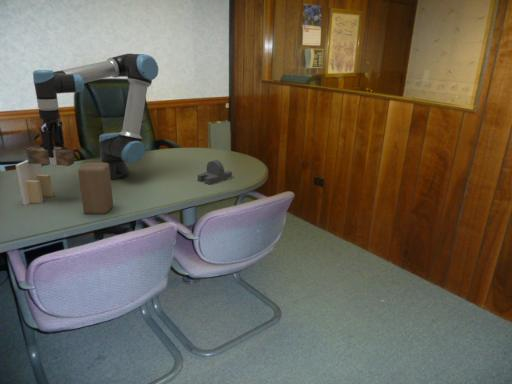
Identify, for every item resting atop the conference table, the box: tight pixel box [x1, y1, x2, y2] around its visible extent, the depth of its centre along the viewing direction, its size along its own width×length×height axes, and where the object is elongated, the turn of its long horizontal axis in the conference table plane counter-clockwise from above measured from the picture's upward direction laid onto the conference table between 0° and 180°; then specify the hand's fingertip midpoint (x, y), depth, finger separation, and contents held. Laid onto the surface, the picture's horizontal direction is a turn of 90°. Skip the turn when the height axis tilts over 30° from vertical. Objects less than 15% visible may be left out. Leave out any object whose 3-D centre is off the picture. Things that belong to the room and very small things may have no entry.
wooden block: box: [77, 162, 114, 215], centre depth 161 cm, size 10×10×20 cm
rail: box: [26, 146, 75, 167], centre depth 165 cm, size 18×4×6 cm, turn 87°
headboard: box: [15, 159, 54, 206], centre depth 170 cm, size 6×15×18 cm, turn 177°
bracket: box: [197, 159, 233, 186], centre depth 207 cm, size 10×18×11 cm, turn 140°
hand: (56, 162), depth 166 cm, fingers closed on rail, 4 cm apart
